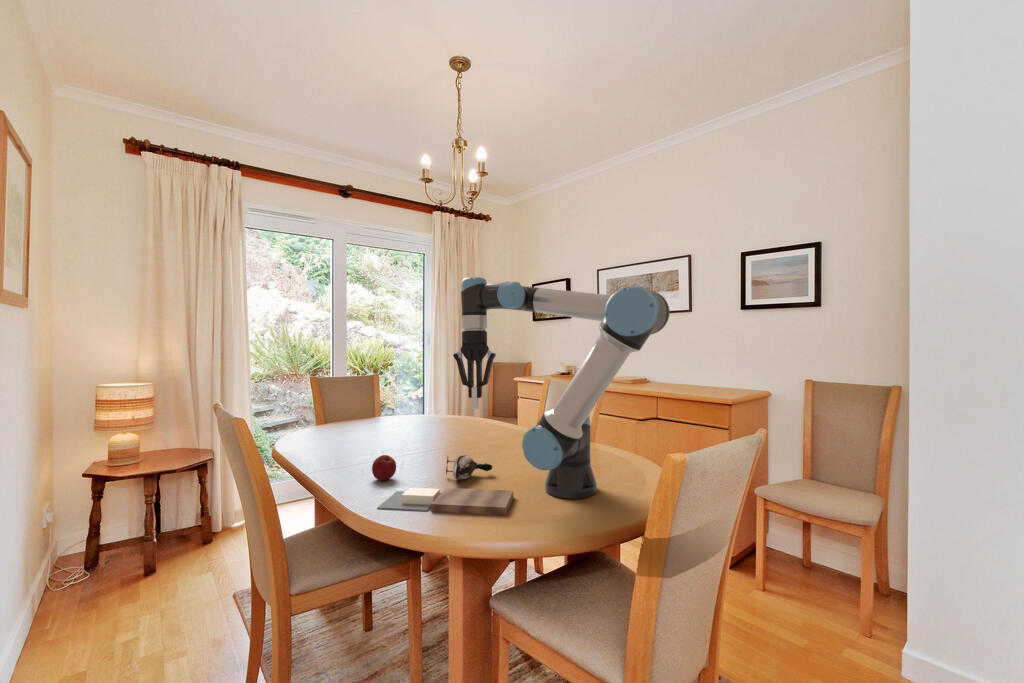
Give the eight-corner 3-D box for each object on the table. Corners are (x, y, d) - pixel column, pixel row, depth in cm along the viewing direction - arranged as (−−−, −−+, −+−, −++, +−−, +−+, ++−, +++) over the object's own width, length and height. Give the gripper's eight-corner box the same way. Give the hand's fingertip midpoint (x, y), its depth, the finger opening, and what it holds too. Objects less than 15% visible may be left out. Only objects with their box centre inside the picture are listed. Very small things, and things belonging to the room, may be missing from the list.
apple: (371, 485, 143) (371, 459, 143) (372, 477, 151) (372, 453, 151) (396, 482, 145) (396, 457, 145) (396, 475, 153) (395, 451, 153)
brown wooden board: (513, 497, 130) (513, 490, 130) (505, 515, 117) (505, 507, 117) (445, 494, 133) (445, 487, 133) (430, 511, 120) (430, 504, 120)
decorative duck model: (493, 453, 155) (493, 464, 140) (491, 475, 155) (491, 488, 140) (448, 450, 154) (444, 460, 139) (446, 472, 154) (442, 485, 139)
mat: (442, 494, 133) (442, 493, 133) (427, 511, 121) (427, 509, 121) (396, 492, 136) (396, 491, 136) (377, 508, 123) (377, 507, 123)
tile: (440, 497, 130) (440, 488, 130) (433, 505, 124) (433, 496, 124) (410, 495, 131) (409, 487, 131) (401, 503, 125) (401, 494, 125)
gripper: (498, 329, 139) (499, 407, 139) (456, 330, 141) (457, 406, 141) (493, 329, 132) (494, 411, 132) (449, 330, 134) (450, 410, 134)
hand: (475, 408), depth 137 cm, fingers closed
